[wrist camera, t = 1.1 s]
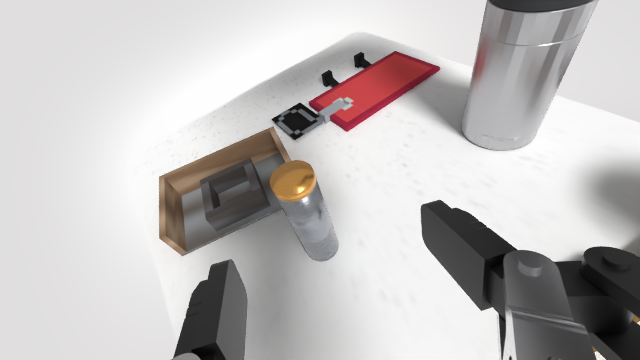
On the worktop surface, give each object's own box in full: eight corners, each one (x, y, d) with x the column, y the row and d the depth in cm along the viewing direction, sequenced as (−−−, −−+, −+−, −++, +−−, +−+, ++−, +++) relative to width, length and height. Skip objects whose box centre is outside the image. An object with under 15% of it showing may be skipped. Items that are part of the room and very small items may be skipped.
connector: (313, 228, 36) (282, 158, 27) (342, 235, 35) (320, 163, 25) (301, 256, 34) (261, 190, 24) (331, 265, 33) (302, 199, 23)
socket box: (178, 196, 46) (159, 176, 42) (282, 148, 48) (273, 126, 44) (182, 256, 38) (159, 238, 34) (307, 196, 40) (298, 173, 36)
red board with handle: (268, 119, 55) (311, 157, 45) (263, 107, 52) (307, 144, 43) (382, 52, 62) (439, 74, 53) (382, 39, 60) (440, 59, 51)
